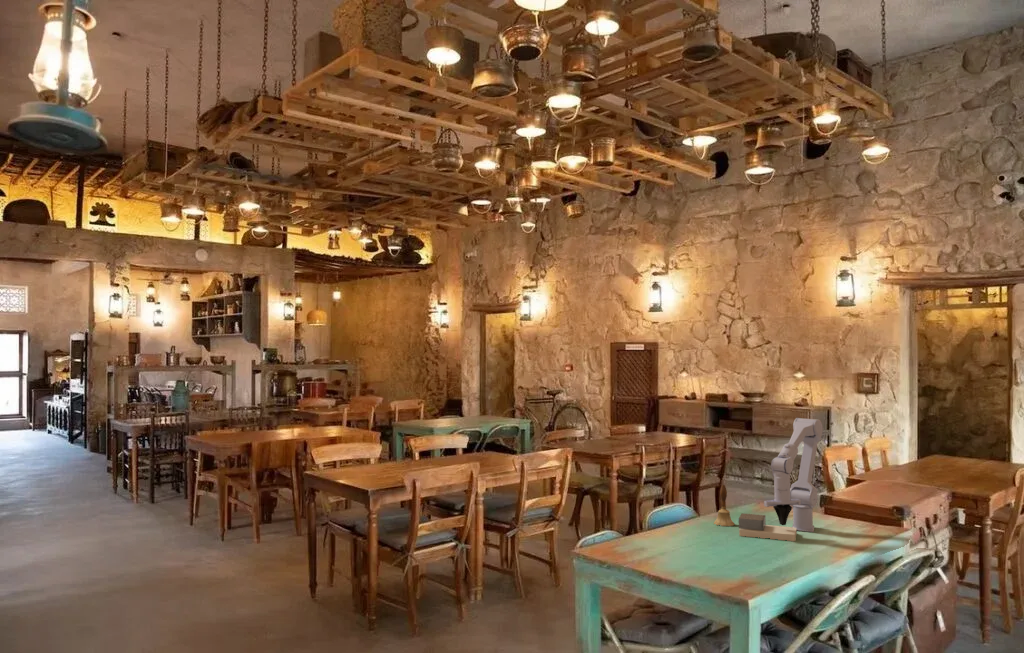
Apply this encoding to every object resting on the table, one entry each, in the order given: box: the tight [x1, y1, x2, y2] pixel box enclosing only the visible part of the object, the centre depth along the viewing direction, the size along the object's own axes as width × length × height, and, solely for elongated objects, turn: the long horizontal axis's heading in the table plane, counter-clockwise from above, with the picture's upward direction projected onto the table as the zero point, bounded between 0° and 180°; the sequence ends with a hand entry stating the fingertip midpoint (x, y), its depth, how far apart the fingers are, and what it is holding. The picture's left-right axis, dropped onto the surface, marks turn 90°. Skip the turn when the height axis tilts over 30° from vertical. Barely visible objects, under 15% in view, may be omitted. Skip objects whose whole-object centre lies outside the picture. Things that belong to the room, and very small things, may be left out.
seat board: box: [738, 524, 798, 542], centre depth 281 cm, size 12×20×2 cm, turn 66°
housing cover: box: [738, 513, 767, 531], centre depth 283 cm, size 9×9×4 cm
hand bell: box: [713, 484, 736, 527], centre depth 298 cm, size 8×8×16 cm
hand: (782, 524), depth 279 cm, fingers closed
